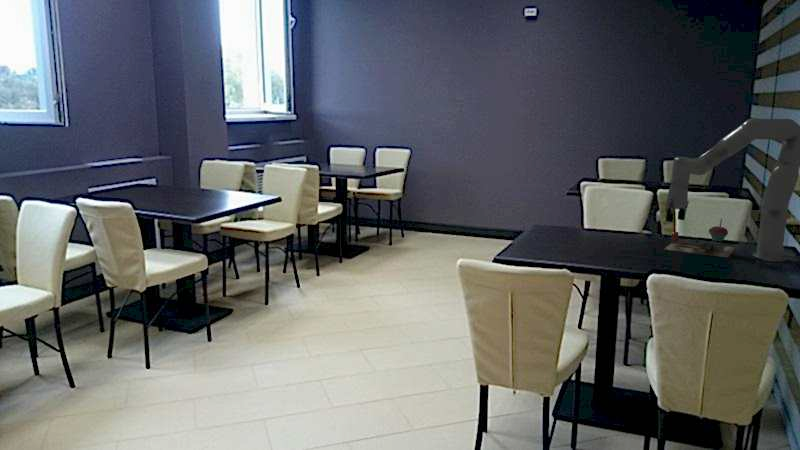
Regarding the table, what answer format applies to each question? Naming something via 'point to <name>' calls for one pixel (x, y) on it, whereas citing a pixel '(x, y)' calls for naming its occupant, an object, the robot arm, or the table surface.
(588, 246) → the table surface
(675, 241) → the lever
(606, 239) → the table surface
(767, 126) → the robot arm
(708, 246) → the walnut
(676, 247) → the cracker base
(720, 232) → the cupcake
